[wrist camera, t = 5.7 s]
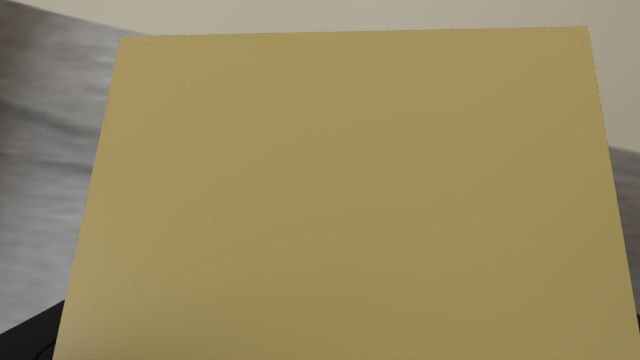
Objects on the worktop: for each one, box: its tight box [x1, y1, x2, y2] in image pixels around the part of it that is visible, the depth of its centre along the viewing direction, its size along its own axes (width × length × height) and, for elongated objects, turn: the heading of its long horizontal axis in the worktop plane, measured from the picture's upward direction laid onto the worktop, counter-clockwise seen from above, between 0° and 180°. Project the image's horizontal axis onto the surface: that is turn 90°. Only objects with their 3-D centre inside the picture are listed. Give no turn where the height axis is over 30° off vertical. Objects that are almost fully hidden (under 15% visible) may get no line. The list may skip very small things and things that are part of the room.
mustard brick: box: [52, 26, 640, 360], centre depth 9 cm, size 4×4×12 cm
